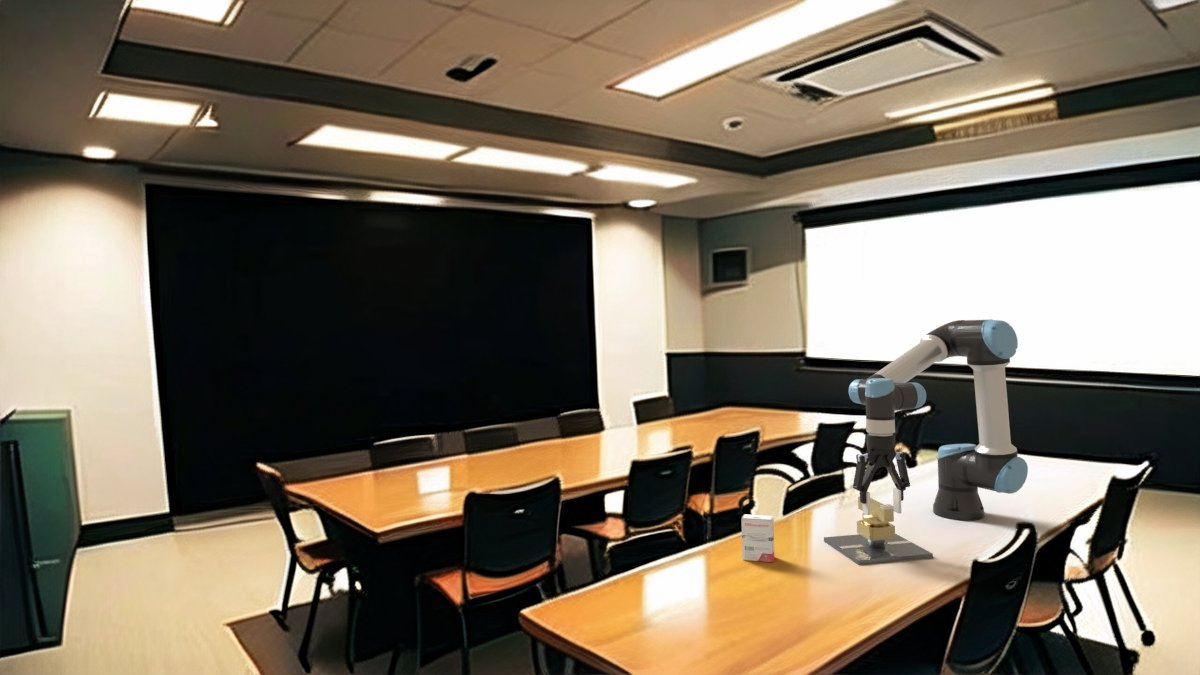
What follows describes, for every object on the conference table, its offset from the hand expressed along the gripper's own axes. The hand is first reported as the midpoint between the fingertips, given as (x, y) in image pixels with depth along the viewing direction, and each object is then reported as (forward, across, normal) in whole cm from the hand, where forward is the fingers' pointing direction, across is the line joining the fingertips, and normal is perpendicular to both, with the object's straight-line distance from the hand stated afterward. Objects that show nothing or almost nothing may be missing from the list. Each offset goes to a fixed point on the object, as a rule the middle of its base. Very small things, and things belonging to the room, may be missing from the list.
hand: (882, 513), depth 196 cm
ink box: (+12, +35, -4) cm, 37 cm away
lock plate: (+11, 0, -4) cm, 12 cm away
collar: (+7, 0, -3) cm, 8 cm away
